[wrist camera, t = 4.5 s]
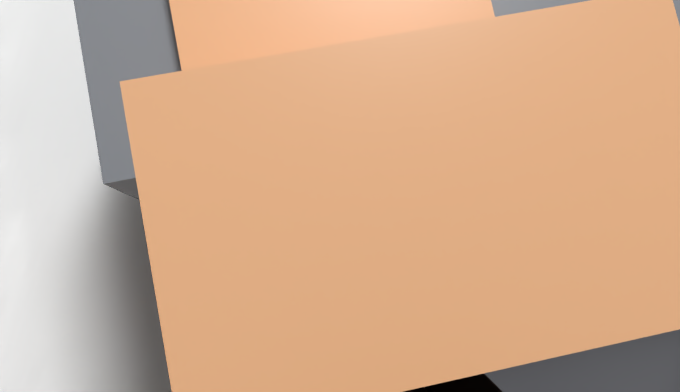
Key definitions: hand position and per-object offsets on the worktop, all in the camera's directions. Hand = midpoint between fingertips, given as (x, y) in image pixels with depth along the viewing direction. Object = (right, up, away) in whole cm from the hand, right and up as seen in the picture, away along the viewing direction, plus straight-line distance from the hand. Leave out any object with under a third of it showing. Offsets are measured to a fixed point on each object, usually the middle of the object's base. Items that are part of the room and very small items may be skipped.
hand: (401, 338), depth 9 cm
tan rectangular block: (-1, +1, +6) cm, 6 cm away
